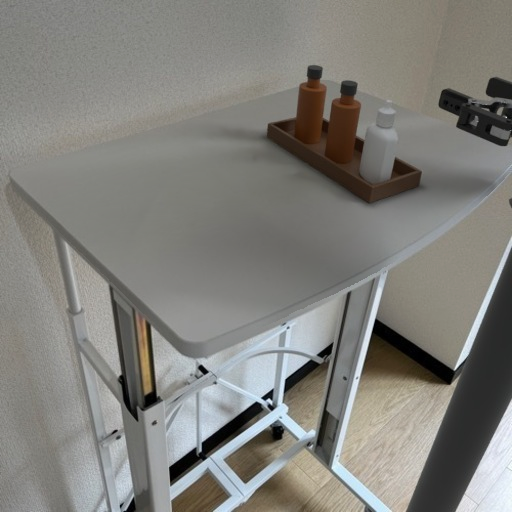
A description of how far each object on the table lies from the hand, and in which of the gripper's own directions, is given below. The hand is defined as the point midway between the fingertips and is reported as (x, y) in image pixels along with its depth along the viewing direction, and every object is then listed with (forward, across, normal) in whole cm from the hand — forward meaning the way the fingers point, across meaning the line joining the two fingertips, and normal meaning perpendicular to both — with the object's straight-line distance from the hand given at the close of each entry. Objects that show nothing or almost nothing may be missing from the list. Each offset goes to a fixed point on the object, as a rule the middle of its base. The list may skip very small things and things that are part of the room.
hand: (466, 90), depth 64 cm
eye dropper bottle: (+12, -1, +18) cm, 21 cm away
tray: (+20, -1, +18) cm, 27 cm away
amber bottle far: (+28, -1, +18) cm, 33 cm away
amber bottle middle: (+20, -1, +18) cm, 27 cm away
